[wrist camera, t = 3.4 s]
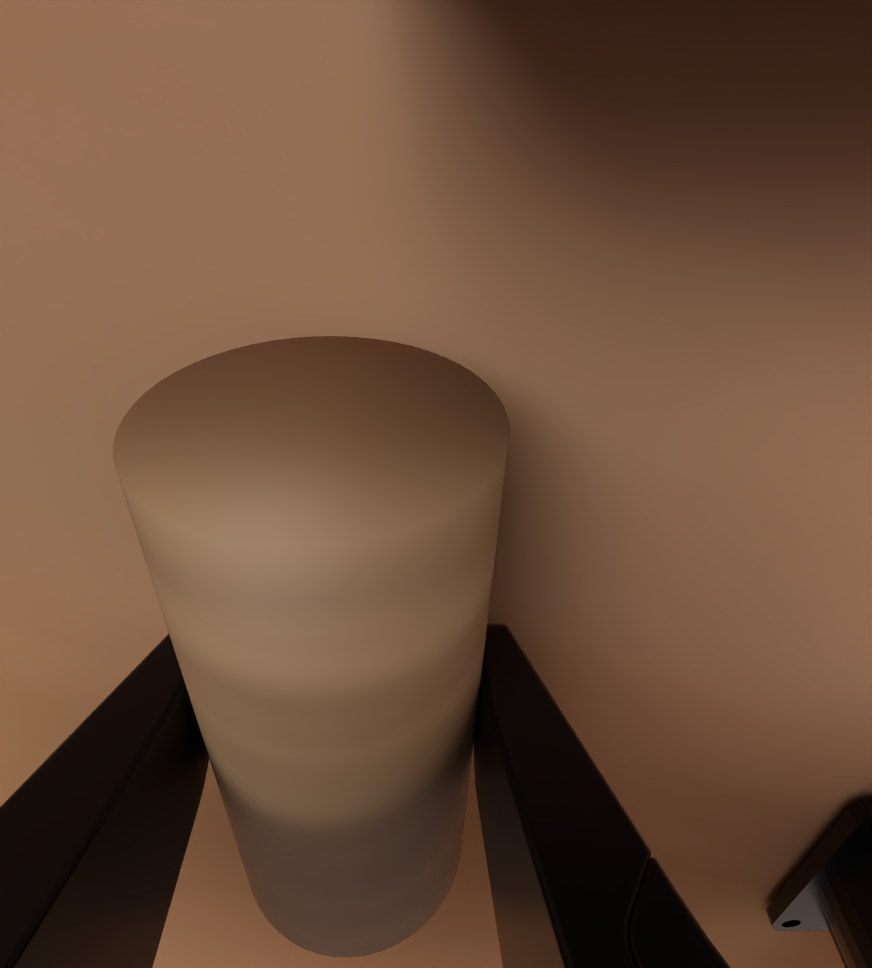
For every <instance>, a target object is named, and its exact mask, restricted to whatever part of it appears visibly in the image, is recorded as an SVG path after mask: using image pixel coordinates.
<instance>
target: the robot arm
mask: <svg viewBox="0 0 872 968" xmlns="http://www.w3.org/2000/svg"><path fill="white" fill-rule="evenodd" d="M473 741H474V768H475V783H476V792H477V800H478V807H479V814H480V820H481V827H482V833H483V840H484V846H485V853H486V859H487V866H488V872H489V879H490V885H491V892H492V898H493V905H494V911H495V918H496V924H497V931H498V937H499V943H500V950H501V956H502V963H503V968H730V967H729V965H728V964H727V963H726V961H725V960H724V958H723V957H722V956H721V954H720V953H719V952H718V950H717V949H716V948H715V946H714V945H713V944H712V942H711V941H710V940H709V938H708V937H707V935H706V934H705V932H704V931H703V930H702V928H701V927H700V925H699V924H698V922H697V921H696V919H695V918H694V916H693V915H692V913H691V912H690V910H689V909H688V907H687V906H686V904H685V903H684V901H683V900H682V898H681V897H680V895H679V894H678V892H677V891H676V889H675V888H674V886H673V885H672V883H671V882H670V880H669V878H668V877H667V875H666V874H665V872H664V871H663V869H662V867H661V866H660V864H659V863H658V861H657V860H656V859H655V858H653V857H652V858H650V856H651V851H650V849H649V848H648V846H647V844H646V843H645V841H644V840H643V838H642V837H641V835H640V833H639V832H638V830H637V829H636V827H635V826H634V824H633V822H632V821H631V819H630V818H629V816H628V815H627V813H626V812H625V810H624V808H623V807H622V805H621V804H620V802H619V801H618V799H617V797H616V796H615V794H614V793H613V791H612V790H611V788H610V786H609V785H608V783H607V782H606V780H605V779H604V777H603V775H602V774H601V772H600V771H599V769H598V768H597V766H596V764H595V763H594V761H593V760H592V758H591V757H590V755H589V754H588V752H587V750H586V749H585V747H584V746H583V744H582V743H581V741H580V739H579V738H578V736H577V735H576V733H575V732H574V730H573V728H572V727H571V725H570V724H569V722H568V721H567V719H566V717H565V716H564V714H563V713H562V711H561V710H560V708H559V706H558V705H557V703H556V702H555V700H554V699H553V697H552V696H551V694H550V692H549V691H548V689H547V688H546V686H545V685H544V683H543V681H542V680H541V678H540V677H539V675H538V674H537V672H536V670H535V669H534V667H533V666H532V664H531V663H530V661H529V659H528V658H527V656H526V655H525V653H524V652H523V650H522V648H521V647H520V645H519V644H518V642H517V641H516V639H515V638H514V636H513V634H512V633H511V631H510V630H509V628H508V627H507V626H506V625H504V624H487V630H486V639H485V647H484V656H483V664H482V673H481V681H480V690H479V698H478V707H477V715H476V724H475V732H474V740H473ZM208 761H209V756H208V752H207V749H206V746H205V743H204V740H203V737H202V734H201V731H200V728H199V725H198V721H197V718H196V715H195V712H194V709H193V706H192V703H191V700H190V697H189V694H188V690H187V687H186V684H185V681H184V678H183V675H182V672H181V669H180V666H179V663H178V660H177V656H176V653H175V650H174V647H173V644H172V641H171V638H170V635H169V634H168V635H167V636H166V637H165V638H164V639H163V640H162V641H161V642H160V643H159V644H158V645H157V646H156V647H155V648H154V649H153V650H152V651H151V652H150V654H149V655H148V656H147V657H146V658H145V659H144V660H143V661H142V662H141V663H140V664H139V665H138V666H137V667H136V668H135V669H134V670H133V671H132V672H131V673H130V674H129V675H128V676H127V677H126V678H125V679H124V680H123V681H122V682H121V683H120V684H119V685H118V686H117V687H116V689H115V690H114V691H113V692H112V693H111V694H110V695H109V696H108V697H107V698H106V699H105V700H104V701H103V702H102V703H101V704H100V705H99V706H98V707H97V708H96V709H95V710H94V711H93V712H92V713H91V714H90V715H89V716H88V717H87V718H86V719H85V720H84V721H83V722H82V724H81V725H80V726H79V727H78V728H77V729H76V730H75V731H74V732H73V733H72V734H71V735H70V736H69V737H68V738H67V739H66V740H65V741H64V742H63V743H62V744H61V745H60V746H59V747H58V748H57V749H56V750H55V751H54V752H53V753H52V754H51V755H50V756H49V757H48V759H47V760H46V761H45V762H44V763H43V764H42V765H41V766H40V767H39V768H38V769H37V770H36V771H35V772H34V773H33V774H32V775H31V776H30V777H29V778H28V779H27V780H26V781H25V782H24V783H23V784H22V785H21V786H20V787H19V788H18V789H17V790H16V791H15V792H14V794H13V795H12V796H11V797H10V798H9V799H8V800H7V801H6V802H5V803H4V804H3V805H2V806H1V807H0V968H152V967H153V963H154V960H155V956H156V953H157V949H158V946H159V942H160V939H161V935H162V932H163V928H164V925H165V921H166V918H167V914H168V911H169V908H170V904H171V901H172V897H173V894H174V890H175V887H176V883H177V880H178V876H179V873H180V869H181V866H182V862H183V859H184V855H185V852H186V849H187V845H188V842H189V838H190V835H191V831H192V828H193V824H194V821H195V817H196V814H197V810H198V807H199V803H200V799H201V795H202V792H203V788H204V783H205V778H206V773H207V767H208ZM766 912H767V914H768V917H769V920H770V922H771V925H772V927H773V928H774V929H776V930H780V931H821V930H829V932H830V934H831V936H832V938H833V941H834V943H835V945H836V948H837V950H838V952H839V955H840V957H841V959H842V962H843V964H844V966H845V968H872V797H871V798H867V799H864V800H861V801H859V802H857V803H854V804H853V805H852V806H851V807H849V808H848V810H847V811H846V812H845V813H844V815H843V816H842V817H841V818H840V819H839V821H838V822H837V823H836V824H835V825H834V827H833V828H832V829H831V830H830V832H829V833H828V834H827V835H826V836H825V838H824V839H823V840H822V841H821V842H820V844H819V845H818V846H817V847H816V848H815V850H814V851H813V852H812V853H811V855H810V856H809V857H808V858H807V859H806V861H805V862H804V863H803V864H802V865H801V867H800V868H799V869H798V870H797V872H796V873H795V874H794V875H793V876H792V878H791V879H790V880H789V881H788V882H787V884H786V885H785V886H784V887H783V889H782V890H781V891H780V892H779V893H778V895H777V896H776V897H775V898H774V899H773V901H772V902H771V903H770V904H769V905H768V907H767V909H766Z"/></svg>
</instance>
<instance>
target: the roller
mask: <svg viewBox="0 0 872 968" xmlns="http://www.w3.org/2000/svg"><path fill="white" fill-rule="evenodd" d="M509 435H510V429H509V421H508V417H507V414H506V411H505V409H504V406H503V404H502V403H501V401H500V400H499V398H498V396H497V395H496V394H495V392H494V391H493V390H492V389H491V388H490V387H489V386H488V385H487V384H486V383H485V382H484V381H483V380H481V379H480V378H479V377H478V376H477V375H475V374H474V373H472V372H471V371H469V370H468V369H466V368H464V367H463V366H461V365H459V364H457V363H455V362H453V361H451V360H449V359H447V358H445V357H442V356H440V355H437V354H435V353H432V352H429V351H426V350H423V349H420V348H416V347H413V346H409V345H404V344H400V343H395V342H390V341H384V340H377V339H369V338H358V337H338V336H324V337H302V338H290V339H282V340H275V341H268V342H263V343H258V344H253V345H248V346H244V347H240V348H236V349H232V350H229V351H226V352H223V353H220V354H216V355H213V356H211V357H208V358H206V359H203V360H201V361H198V362H196V363H193V364H191V365H189V366H187V367H185V368H183V369H181V370H179V371H177V372H175V373H173V374H172V375H170V376H168V377H167V378H165V379H163V380H162V381H160V382H159V383H157V384H156V385H155V386H154V387H152V388H151V389H150V390H148V391H147V392H146V393H145V394H144V395H143V396H142V397H141V398H140V399H138V400H137V401H136V402H135V403H134V404H133V406H132V407H131V408H130V410H129V411H128V412H127V414H126V415H125V416H124V418H123V420H122V422H121V424H120V426H119V428H118V430H117V433H116V437H115V441H114V445H113V453H114V463H115V467H116V470H117V474H118V477H119V480H120V483H121V486H122V489H123V492H124V495H125V498H126V502H127V505H128V508H129V511H130V514H131V517H132V520H133V523H134V526H135V529H136V533H137V536H138V539H139V542H140V545H141V548H142V551H143V554H144V557H145V560H146V564H147V567H148V570H149V573H150V576H151V579H152V582H153V585H154V588H155V591H156V594H157V598H158V601H159V604H160V607H161V610H162V613H163V616H164V619H165V622H166V625H167V629H168V632H169V635H170V638H171V641H172V644H173V647H174V650H175V653H176V656H177V660H178V663H179V666H180V669H181V672H182V675H183V678H184V681H185V684H186V687H187V690H188V694H189V697H190V700H191V703H192V706H193V709H194V712H195V715H196V718H197V721H198V725H199V728H200V731H201V734H202V737H203V740H204V743H205V746H206V749H207V752H208V756H209V759H210V762H211V765H212V768H213V771H214V774H215V777H216V780H217V783H218V787H219V790H220V793H221V796H222V799H223V802H224V805H225V808H226V811H227V814H228V817H229V821H230V824H231V827H232V830H233V833H234V836H235V839H236V842H237V845H238V848H239V852H240V855H241V858H242V861H243V864H244V867H245V870H246V873H247V876H248V879H249V883H250V886H251V889H252V892H253V895H254V897H255V899H256V901H257V903H258V905H259V908H260V909H261V911H262V912H263V914H264V915H265V917H266V918H267V920H268V921H269V922H270V923H271V924H272V925H273V926H274V927H275V929H276V930H277V931H278V932H279V933H281V934H282V935H283V936H284V937H286V938H287V939H288V940H290V941H291V942H293V943H295V944H296V945H298V946H300V947H302V948H304V949H306V950H309V951H312V952H315V953H317V954H322V955H327V956H332V957H356V956H364V955H369V954H372V953H376V952H380V951H382V950H385V949H387V948H389V947H392V946H394V945H396V944H398V943H399V942H401V941H403V940H404V939H406V938H408V937H409V936H411V935H412V934H413V933H414V932H416V931H417V930H418V929H419V928H420V927H422V926H423V925H424V924H425V923H426V922H427V920H428V919H429V918H430V917H431V916H432V915H433V914H434V913H435V911H436V910H437V909H438V907H439V906H440V904H441V903H442V902H443V900H444V898H445V896H446V894H447V893H448V891H449V889H450V887H451V884H452V882H453V879H454V877H455V874H456V871H457V867H458V863H459V859H460V851H461V842H462V834H463V825H464V817H465V808H466V800H467V791H468V783H469V774H470V766H471V757H472V749H473V740H474V732H475V724H476V715H477V707H478V698H479V690H480V681H481V673H482V664H483V656H484V647H485V639H486V630H487V622H488V613H489V605H490V596H491V588H492V579H493V571H494V562H495V554H496V545H497V537H498V528H499V520H500V512H501V503H502V495H503V486H504V478H505V469H506V461H507V452H508V444H509Z"/></svg>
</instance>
